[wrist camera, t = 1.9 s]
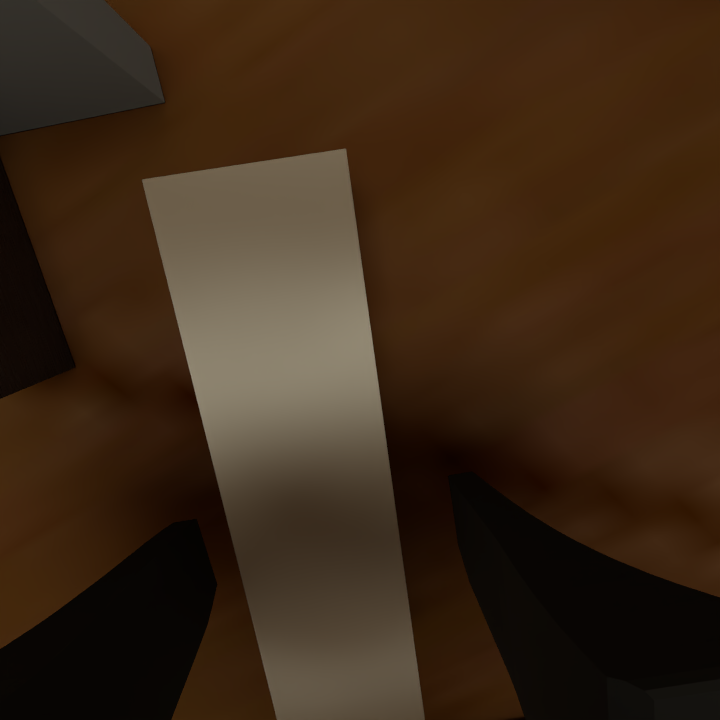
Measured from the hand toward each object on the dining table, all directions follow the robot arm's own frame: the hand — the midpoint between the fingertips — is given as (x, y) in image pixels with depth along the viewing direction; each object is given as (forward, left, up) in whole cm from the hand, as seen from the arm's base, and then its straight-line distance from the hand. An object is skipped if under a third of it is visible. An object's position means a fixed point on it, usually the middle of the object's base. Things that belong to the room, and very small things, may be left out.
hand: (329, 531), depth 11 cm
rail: (+2, 0, -2) cm, 3 cm away
